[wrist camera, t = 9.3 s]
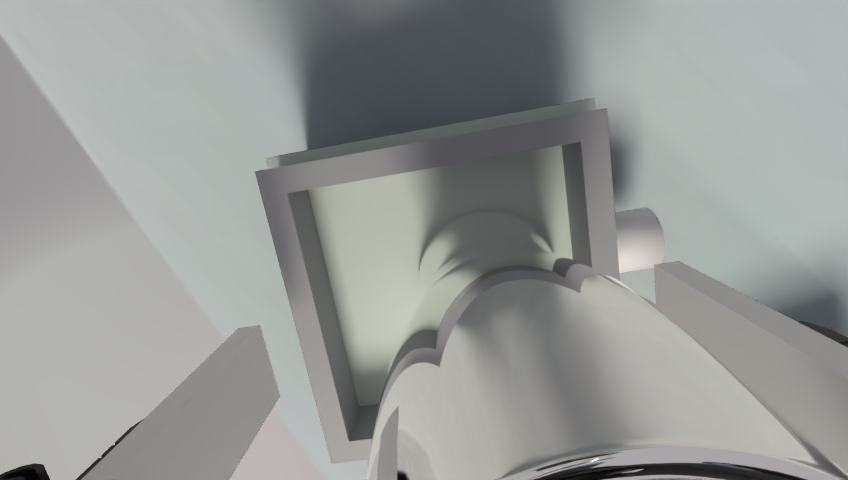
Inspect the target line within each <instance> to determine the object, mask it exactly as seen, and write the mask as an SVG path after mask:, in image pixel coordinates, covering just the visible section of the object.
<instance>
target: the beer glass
mask: <svg viewBox="0 0 848 480" xmlns="http://www.w3.org/2000/svg"><path fill="white" fill-rule="evenodd" d="M419 286H420V292H421V296H422V300H421V301H420V303H419V305H418V306H417V308H416V309H415V311H414V312H413V314H412V316H411V318H410V319H409V321H408V323H407V325H406V328H405V330H404V332H403V334H402V336H401V338H400V340H399V342H398V344H397V347H396V349H395V351H394V353H393V356H392V359H391V361H390V365H389V368H388V372H387V375H386V379H385V382H384V386H383V390H382V393H381V397H380V400H379V404H378V408H377V413H376V418H375V424H374V430H373V435H372V441H371V446H370V452H369V458H368V464H367V472H366V480H848V474H847V473H846V472H845V471H844V470H843V469H841V468H840V467H839V466H838V465H837V464H836V463H835V462H834V461H833V460H832V459H831V458H830V457H828V456H827V455H826V454H825V453H824V452H823V451H822V450H821V449H820V448H819V447H818V446H817V445H816V444H815V443H814V442H813V441H812V440H811V439H809V438H808V437H807V436H806V435H805V434H804V433H803V432H802V431H801V430H800V429H799V428H798V427H797V426H796V425H795V424H794V423H793V422H792V421H791V420H790V419H789V418H787V417H786V416H785V415H784V414H783V413H782V412H781V411H780V410H779V409H778V408H777V407H776V406H775V405H774V404H773V403H772V402H770V401H769V400H768V399H767V398H766V397H765V396H764V395H763V394H762V393H761V392H759V391H758V390H757V389H756V388H755V387H754V386H753V385H752V384H751V383H750V382H749V381H747V380H746V379H745V378H744V377H743V376H742V375H741V374H740V373H739V372H738V371H736V370H735V369H734V368H733V367H732V366H731V365H730V364H729V363H728V362H727V361H725V360H724V359H723V358H722V357H721V356H720V355H719V354H717V353H716V352H715V351H714V350H713V349H711V348H710V347H709V346H708V345H706V344H705V343H704V342H703V341H702V340H700V339H699V338H698V337H697V336H695V335H694V334H693V333H692V332H691V331H689V330H688V329H687V328H686V327H684V326H683V325H682V324H681V323H680V322H678V321H677V320H676V319H675V318H673V317H672V316H671V315H670V314H668V313H667V312H665V311H664V310H662V309H661V308H660V307H658V306H657V305H655V304H654V303H652V302H651V301H649V300H648V299H646V298H645V297H643V296H642V295H640V294H639V293H637V292H636V291H634V290H633V289H631V288H630V287H628V286H627V285H625V284H624V283H622V282H620V281H618V280H616V279H614V278H612V277H610V276H608V275H606V274H604V273H602V272H600V271H597V270H595V269H593V268H591V267H589V266H586V265H584V264H582V263H580V262H577V261H575V260H572V259H569V258H566V257H563V256H560V255H557V254H554V253H553V252H552V250H551V248H550V246H549V244H548V242H547V241H546V239H545V238H544V237H543V235H542V234H541V233H540V232H539V231H538V230H537V229H536V228H535V227H534V226H533V225H531V224H530V223H529V222H527V221H526V220H524V219H522V218H520V217H518V216H516V215H513V214H510V213H507V212H502V211H494V210H485V211H477V212H472V213H468V214H465V215H462V216H460V217H458V218H456V219H454V220H452V221H450V222H449V223H447V224H446V225H445V226H443V227H442V228H441V229H440V230H439V231H438V232H437V233H436V234H435V235H434V236H433V238H432V239H431V240H430V242H429V243H428V245H427V247H426V249H425V251H424V253H423V256H422V259H421V263H420V269H419Z"/></svg>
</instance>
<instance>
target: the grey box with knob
mask: <svg viewBox="0 0 848 480" xmlns="http://www.w3.org/2000/svg"><path fill="white" fill-rule="evenodd" d="M265 159H266V162H267V166H268V169H267V170H261V171H256V172H255V174H256V177H257V181H258V185H259V189H260V193H261V196H262V200H263V204H264V208H265V212H266V216H267V219H268V223H269V227H270V231H271V235H272V238H273V242H274V246H275V250H276V254H277V257H278V261H279V265H280V269H281V273H282V276H283V280H284V284H285V288H286V292H287V296H288V299H289V303H290V307H291V311H292V315H293V318H294V322H295V326H296V330H297V334H298V337H299V341H300V345H301V349H302V353H303V356H304V360H305V364H306V368H307V372H308V376H309V379H310V383H311V387H312V391H313V395H314V398H315V402H316V406H317V410H318V414H319V417H320V421H321V425H322V429H323V433H324V436H325V440H326V444H327V448H328V452H329V455H330V459H331V463H332V464H334V463H342V462H350V461H358V460H366V459H368V458H369V452H370V446H371V441H372V435H373V430H374V424H375V418H376V413H377V408H378V404H379V400H380V397H381V393H382V390H383V386H384V382H385V379H386V375H387V372H388V368H389V365H390V361H391V359H392V356H393V353H394V351H395V349H396V347H397V344H398V342H399V340H400V338H401V336H402V334H403V332H404V330H405V328H406V325H407V323H408V321H409V319H410V318H411V316H412V314H413V312H414V311H415V309H416V308H417V306H418V305H419V303H420V301H421V300H422V296H421V292H420V286H419V269H420V263H421V259H422V256H423V253H424V251H425V249H426V247H427V245H428V243H429V242H430V240H431V239H432V238H433V236H434V235H435V234H436V233H437V232H438V231H439V230H440V229H441V228H442V227H443V226H445V225H446V224H447V223H449V222H450V221H452V220H454V219H456V218H458V217H460V216H462V215H465V214H468V213H472V212H477V211H485V210H494V211H502V212H507V213H510V214H513V215H516V216H518V217H520V218H522V219H524V220H526V221H527V222H529V223H530V224H531V225H533V226H534V227H535V228H536V229H537V230H538V231H539V232H540V233H541V234H542V235H543V237H544V238H545V239H546V241H547V242H548V244H549V246H550V248H551V250H552V252H553V253H554V254H557V255H560V256H563V257H566V258H569V259H572V260H575V261H577V262H580V263H582V264H584V265H586V266H589V267H591V268H593V269H595V270H597V271H600V272H602V273H604V274H606V275H608V276H610V277H612V278H614V279H616V280H618V281H620V276H619V273H621V272H628V271H634V270H641V269H647V268H654V265H656V264H661V263H662V261H663V258H664V254H665V240H664V234H663V230H662V227H661V224H660V222H659V220H658V218H657V216H656V215H655V214H654V212H653V211H652V210H650V209H649V208H639V209H633V210H627V211H621V212H615V209H614V195H613V182H612V168H611V155H610V141H609V128H608V114H607V108H605V109H599V110H595V98H591V99H586V100H580V101H575V102H569V103H564V104H558V105H553V106H547V107H542V108H536V109H531V110H525V111H520V112H515V113H509V114H504V115H498V116H493V117H487V118H482V119H476V120H471V121H465V122H460V123H454V124H449V125H443V126H438V127H432V128H427V129H421V130H416V131H410V132H405V133H399V134H394V135H388V136H383V137H377V138H372V139H366V140H361V141H355V142H350V143H344V144H339V145H333V146H328V147H323V148H317V149H312V150H306V151H301V152H295V153H290V154H284V155H279V156H273V157H268V158H265Z"/></svg>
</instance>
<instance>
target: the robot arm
mask: <svg viewBox="0 0 848 480" xmlns="http://www.w3.org/2000/svg"><path fill="white" fill-rule="evenodd" d="M654 274H655V294H656V305H657V306H658V307H660V308H661V309H662V310H664V311H665V312H667V313H668V314H670V315H671V316H672V317H673V318H675V319H676V320H677V321H678V322H680V323H681V324H682V325H683V326H684V327H686V328H687V329H688V330H689V331H691V332H692V333H693V334H694V335H695V336H697V337H698V338H699V339H700V340H702V341H703V342H704V343H705V344H706V345H708V346H709V347H710V348H711V349H713V350H714V351H715V352H716V353H717V354H719V355H720V356H721V357H722V358H723V359H724V360H725V361H727V362H728V363H729V364H730V365H731V366H732V367H733V368H734V369H735V370H736V371H738V372H739V373H740V374H741V375H742V376H743V377H744V378H745V379H746V380H747V381H749V382H750V383H751V384H752V385H753V386H754V387H755V388H756V389H757V390H758V391H759V392H761V393H762V394H763V395H764V396H765V397H766V398H767V399H768V400H769V401H770V402H772V403H773V404H774V405H775V406H776V407H777V408H778V409H779V410H780V411H781V412H782V413H783V414H784V415H785V416H786V417H787V418H789V419H790V420H791V421H792V422H793V423H794V424H795V425H796V426H797V427H798V428H799V429H800V430H801V431H802V432H803V433H804V434H805V435H806V436H807V437H808V438H809V439H811V440H812V441H813V442H814V443H815V444H816V445H817V446H818V447H819V448H820V449H821V450H822V451H823V452H824V453H825V454H826V455H827V456H828V457H830V458H831V459H832V460H833V461H834V462H835V463H836V464H837V465H838V466H839V467H840V468H841V469H843V470H844V471H845V472H846V473H847V474H848V338H847V337H845V336H843V335H841V334H839V333H837V332H835V331H832V330H830V329H827V328H824V327H820V326H817V325H813V324H810V323H807V322H803V321H799V322H797V321H795V320H793V319H791V318H789V317H787V316H785V315H783V314H781V313H779V312H777V311H775V310H773V309H771V308H769V307H768V306H766V305H764V304H762V303H760V302H758V301H756V300H754V299H752V298H750V297H748V296H746V295H744V294H742V293H740V292H738V291H736V290H734V289H732V288H730V287H728V286H727V285H725V284H723V283H721V282H719V281H717V280H715V279H713V278H711V277H709V276H707V275H705V274H703V273H701V272H699V271H697V270H695V269H693V268H691V267H689V266H688V265H686V264H684V263H682V262H680V261H675V262H669V263H662V264H656V265H654ZM279 397H280V394H279V390H278V387H277V383H276V380H275V376H274V373H273V369H272V366H271V362H270V359H269V355H268V352H267V349H266V345H265V342H264V338H263V335H262V331H261V328H260V325H258V326H251V327H245V328H238V329H237V330H236V331H235V332H234V333H233V334H232V335H231V336H230V337H229V338H228V339H227V340H226V341H225V342H224V343H223V344H222V345H221V346H220V347H219V348H217V349H216V351H214V353H212V354H211V355H210V356H209V357H208V358H207V359H206V360H205V361H204V362H203V363H202V364H201V365H200V366H199V367H198V368H197V369H196V370H195V371H194V372H192V374H191V375H189V376H188V377H187V378H186V379H185V380H184V381H183V382H182V383H181V384H180V385H179V386H178V387H177V388H176V389H175V390H174V391H173V392H172V393H171V394H170V395H169V396H168V397H166V398H165V399H164V400H163V401H162V402H161V403H160V404H159V405H158V406H157V407H156V408H155V409H154V410H153V411H152V412H151V413H150V414H149V415H148V416H147V417H146V418H144V419H143V420H141V421H140V422H138V423H137V424H135V425H134V426H133V427H131V428H130V429H129V430H128V431H127V432H126V433H125V434H124V435H122V437H120V438H119V439H118V440H117V441H116V442H115V445H113V446H111V447H110V448H109V449H108V450H107V451H106V452H105V453H104V454H103V455H102V458H98V459H97V460H96V461H95V462H94V463H93V464H92V465H91V466H90V467H89V468H88V469H87V470H86V471H84V472H83V473H82V474H81V475H80V476H79V477H78V478H77V479H76V480H229V479H230V477H231V476H232V474H233V472H234V471H235V469H236V467H237V466H238V464H239V463H240V461H241V459H242V458H243V456H244V454H245V453H246V451H247V449H248V448H249V446H250V445H251V443H252V441H253V440H254V438H255V436H256V435H257V433H258V431H259V430H260V428H261V426H262V425H263V423H264V422H265V420H266V418H267V417H268V415H269V413H270V412H271V410H272V408H273V407H274V405H275V403H276V402H277V400H278V399H279ZM0 480H50V479H49V476H48V474H47V472H46V470H45V467H44V465H42V464H31V465H25V466H21V467H18V468H16V469H13V470H10V471H8V472H5V473H3V474H1V475H0Z"/></svg>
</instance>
